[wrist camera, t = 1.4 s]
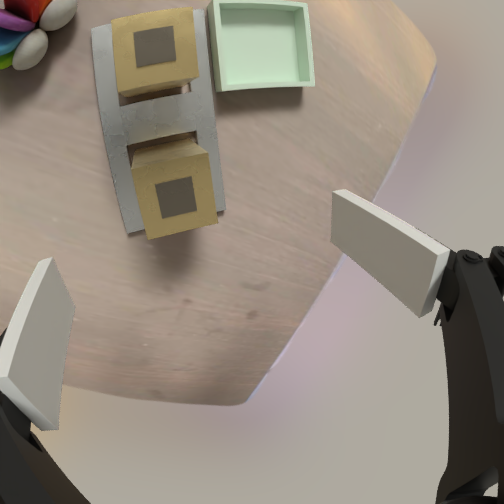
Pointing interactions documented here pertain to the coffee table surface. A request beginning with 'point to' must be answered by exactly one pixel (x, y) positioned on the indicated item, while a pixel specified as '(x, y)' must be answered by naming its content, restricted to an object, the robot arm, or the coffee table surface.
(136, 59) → the tan textured tower
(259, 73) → the tray
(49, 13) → the colorful toy
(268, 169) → the coffee table surface
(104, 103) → the grey frame plate
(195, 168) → the brass block
